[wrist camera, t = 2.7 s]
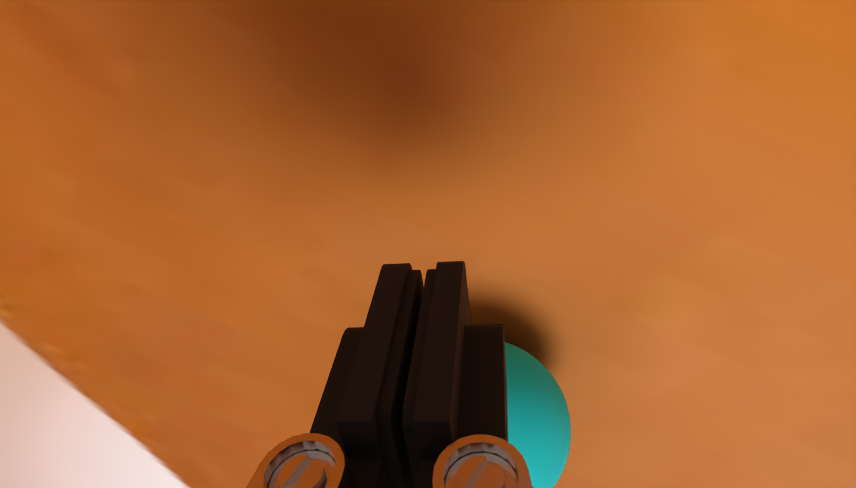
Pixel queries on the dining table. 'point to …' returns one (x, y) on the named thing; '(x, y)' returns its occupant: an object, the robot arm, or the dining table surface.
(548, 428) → the ball
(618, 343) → the dining table surface
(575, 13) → the dining table surface
